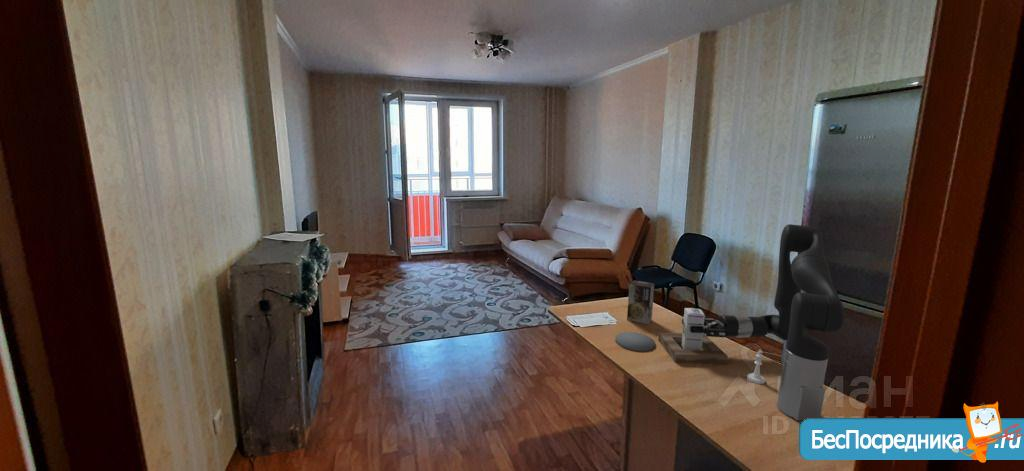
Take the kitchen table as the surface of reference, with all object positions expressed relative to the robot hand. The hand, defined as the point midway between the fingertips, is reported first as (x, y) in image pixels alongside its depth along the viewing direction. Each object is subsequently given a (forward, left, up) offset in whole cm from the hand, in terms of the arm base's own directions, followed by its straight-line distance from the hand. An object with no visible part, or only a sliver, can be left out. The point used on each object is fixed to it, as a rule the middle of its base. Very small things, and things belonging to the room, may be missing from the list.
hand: (686, 325), depth 144 cm
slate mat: (+6, +16, -10) cm, 19 cm away
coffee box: (+28, +8, -10) cm, 31 cm away
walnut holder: (0, -2, -10) cm, 10 cm away
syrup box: (0, -2, -9) cm, 9 cm away
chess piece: (-18, -15, -10) cm, 26 cm away
